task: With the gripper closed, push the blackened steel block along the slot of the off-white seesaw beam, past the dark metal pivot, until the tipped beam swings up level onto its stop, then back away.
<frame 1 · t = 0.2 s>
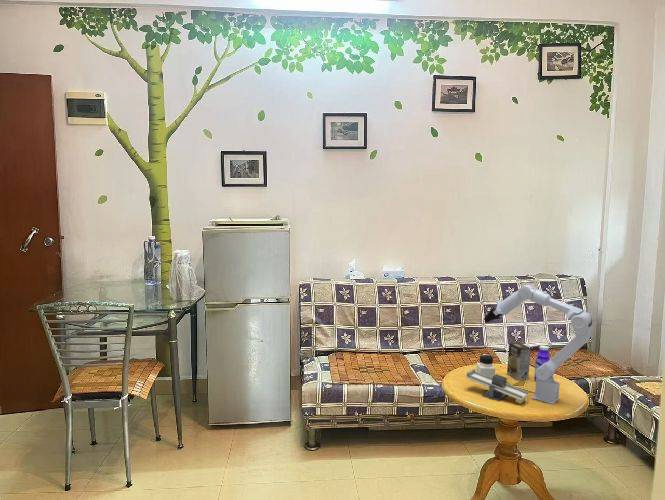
hand: (488, 318, 248), 31 cm above the table, tool tilted 45°, fingers open, 7 cm apart
medicine bottle: (485, 379, 256), on the table
beam: (496, 386, 237), point 4 cm above the table, hinge at -6.3°, touching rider
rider: (498, 385, 236), point 5 cm above the table, tilted 6°, touching beam
bottle: (541, 381, 256), on the table
coffee box: (517, 377, 261), on the table
pivot stand: (495, 395, 237), on the table
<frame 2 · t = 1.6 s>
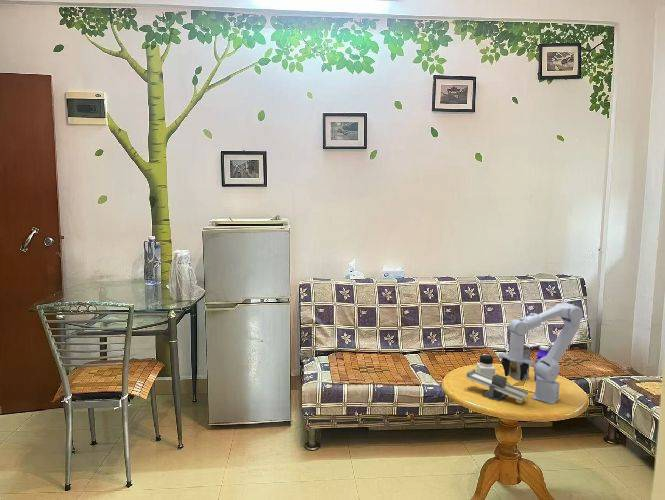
hand: (514, 377, 231), 10 cm above the table, tool pointing down, fingers open, 6 cm apart
nothing on the table moved.
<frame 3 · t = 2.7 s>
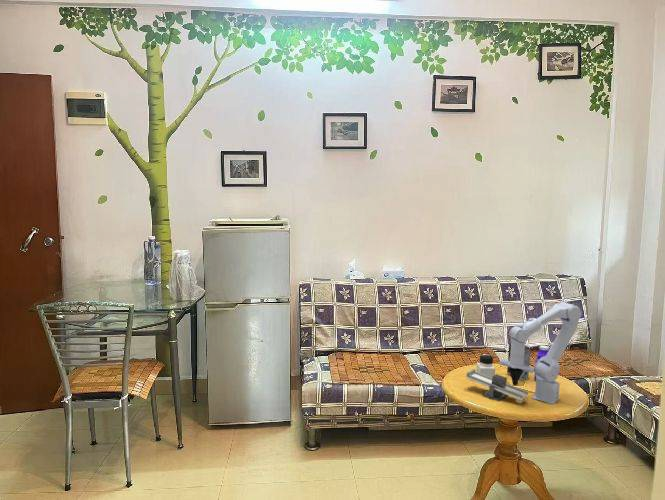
hand: (515, 384, 231), 7 cm above the table, tool pointing down, fingers closed
nothing on the table moved.
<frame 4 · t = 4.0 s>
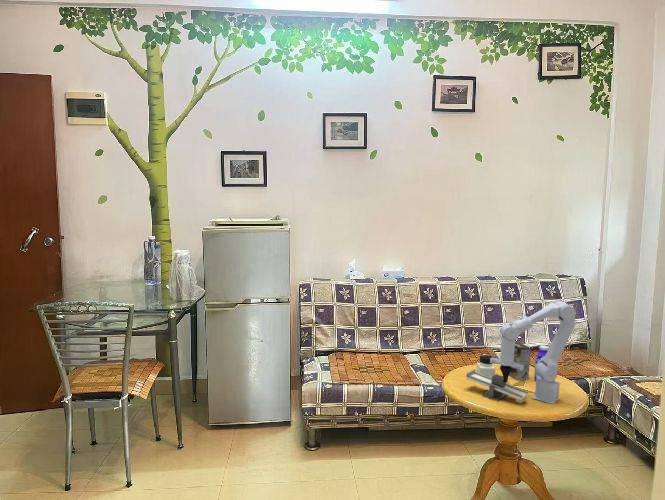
hand: (505, 381, 234), 7 cm above the table, tool pointing down, fingers closed, pressing on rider
beam: (496, 386, 237), point 4 cm above the table, hinge at -5.6°, touching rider
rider: (498, 385, 236), point 5 cm above the table, tilted 6°, touching beam, gripper
everything else where it was.
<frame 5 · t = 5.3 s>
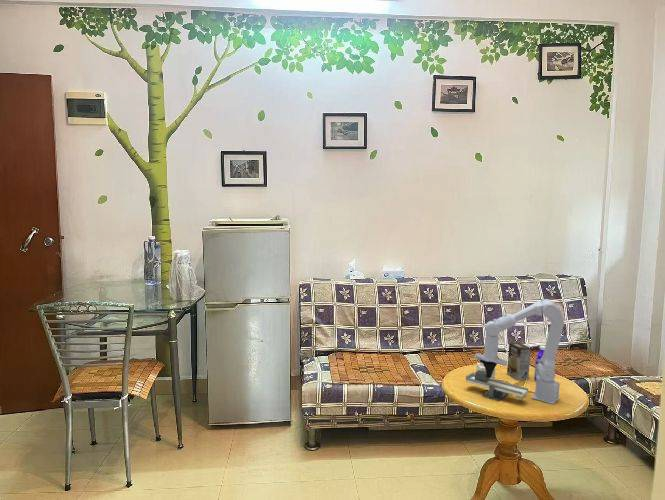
hand: (489, 377, 239), 7 cm above the table, tool pointing down, fingers closed
beam: (496, 385, 237), point 4 cm above the table, hinge at 1.0°
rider: (481, 381, 241), point 5 cm above the table, touching gripper
everything else where it was.
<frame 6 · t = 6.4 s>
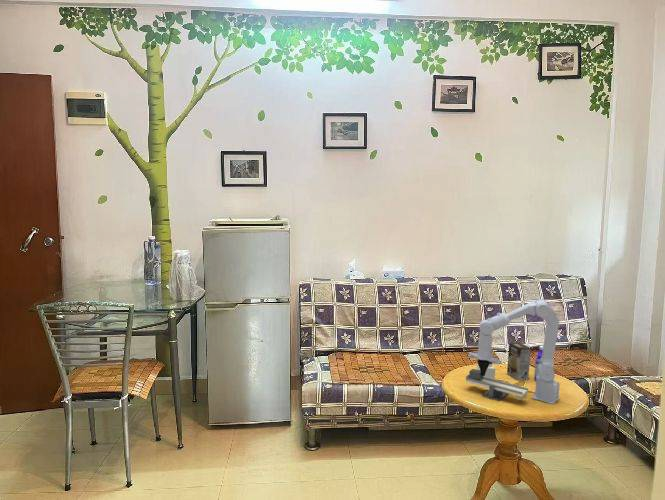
hand: (483, 375, 241), 7 cm above the table, tool pointing down, fingers closed
beam: (496, 385, 237), point 4 cm above the table, hinge at 1.2°, touching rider
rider: (476, 379, 243), point 5 cm above the table, touching beam, gripper
everything else where it was.
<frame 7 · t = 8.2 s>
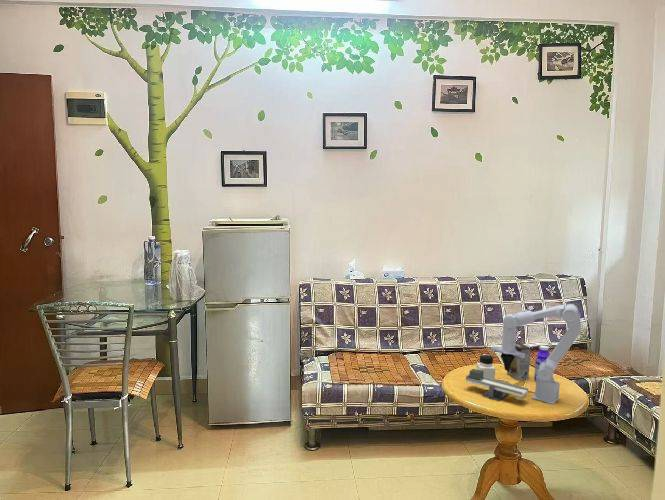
hand: (507, 369, 241), 10 cm above the table, tool pointing down, fingers closed
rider: (476, 379, 243), point 5 cm above the table, touching beam
everything else where it was.
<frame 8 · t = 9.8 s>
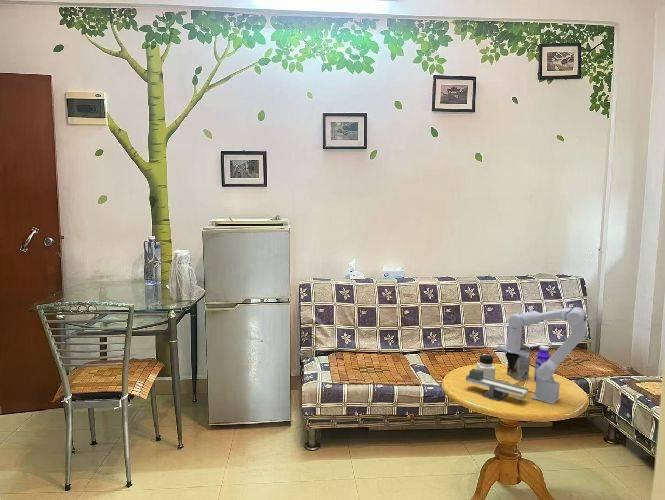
hand: (511, 368, 242), 10 cm above the table, tool pointing down, fingers closed
nothing on the table moved.
at the end: beam at +1° (first picture: -6°); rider inside the target area on the beam (1.0 cm from its centre), point 0.8 cm above the beam's base; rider touching beam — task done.
